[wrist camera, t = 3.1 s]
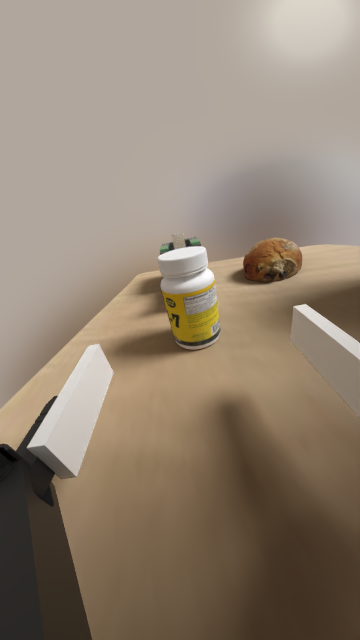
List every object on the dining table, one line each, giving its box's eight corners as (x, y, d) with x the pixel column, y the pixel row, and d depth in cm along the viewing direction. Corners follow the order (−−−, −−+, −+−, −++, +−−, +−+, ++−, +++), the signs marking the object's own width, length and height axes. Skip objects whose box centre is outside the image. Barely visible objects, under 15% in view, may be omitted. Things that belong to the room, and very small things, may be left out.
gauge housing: (207, 282, 39) (201, 241, 36) (168, 290, 40) (158, 251, 36) (200, 269, 48) (195, 235, 44) (169, 275, 49) (161, 243, 45)
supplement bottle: (170, 331, 27) (149, 255, 22) (209, 318, 27) (198, 242, 22) (181, 357, 22) (158, 265, 16) (229, 341, 22) (220, 248, 17)
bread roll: (301, 285, 38) (308, 242, 37) (294, 282, 30) (302, 227, 29) (250, 283, 44) (254, 245, 43) (232, 280, 36) (237, 234, 35)
